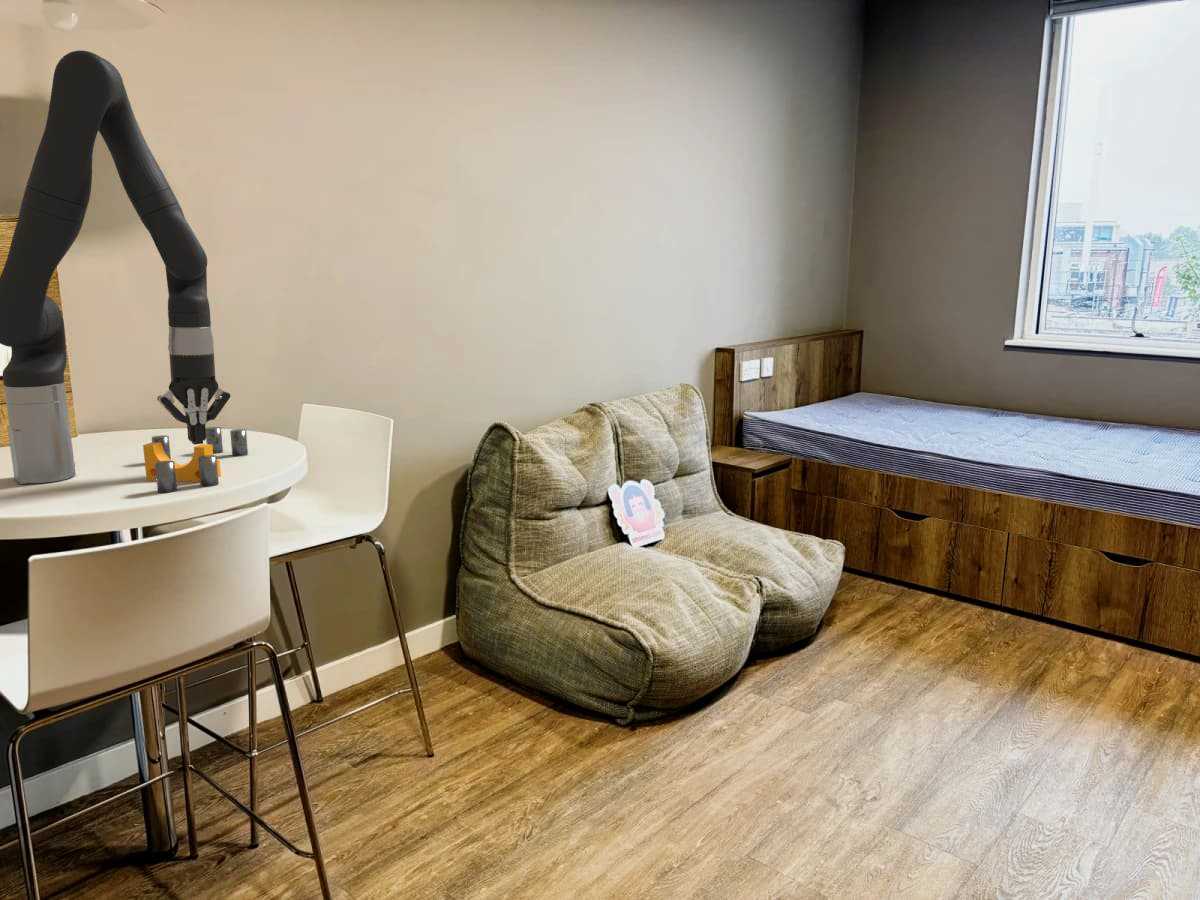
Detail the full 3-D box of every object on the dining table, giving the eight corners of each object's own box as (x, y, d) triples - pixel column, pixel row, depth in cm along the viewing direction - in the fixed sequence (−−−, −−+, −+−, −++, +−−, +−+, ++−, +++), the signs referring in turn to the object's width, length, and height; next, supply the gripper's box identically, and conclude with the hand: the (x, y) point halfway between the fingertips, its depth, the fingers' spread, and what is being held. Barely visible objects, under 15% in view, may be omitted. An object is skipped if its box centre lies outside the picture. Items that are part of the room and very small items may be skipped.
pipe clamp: (221, 477, 166) (217, 442, 164) (207, 482, 161) (203, 447, 160) (162, 474, 168) (158, 440, 166) (146, 480, 163) (143, 445, 162)
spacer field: (160, 493, 153) (157, 465, 152) (114, 463, 176) (112, 438, 175) (293, 473, 168) (291, 447, 167) (234, 448, 191) (232, 424, 190)
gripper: (159, 354, 159) (166, 451, 162) (235, 351, 167) (240, 443, 171) (146, 351, 164) (153, 444, 168) (221, 348, 173) (226, 436, 176)
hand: (197, 443), depth 169 cm, fingers closed
